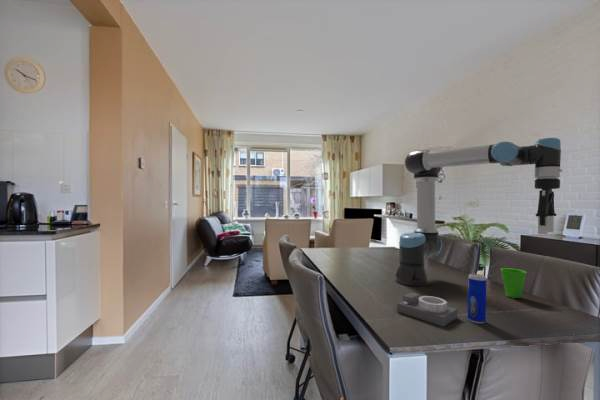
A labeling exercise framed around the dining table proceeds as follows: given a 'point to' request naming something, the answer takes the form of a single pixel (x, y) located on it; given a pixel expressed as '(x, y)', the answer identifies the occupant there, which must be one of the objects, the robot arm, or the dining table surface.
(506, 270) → the cup
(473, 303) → the beverage can
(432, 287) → the dining table surface
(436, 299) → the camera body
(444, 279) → the dining table surface
